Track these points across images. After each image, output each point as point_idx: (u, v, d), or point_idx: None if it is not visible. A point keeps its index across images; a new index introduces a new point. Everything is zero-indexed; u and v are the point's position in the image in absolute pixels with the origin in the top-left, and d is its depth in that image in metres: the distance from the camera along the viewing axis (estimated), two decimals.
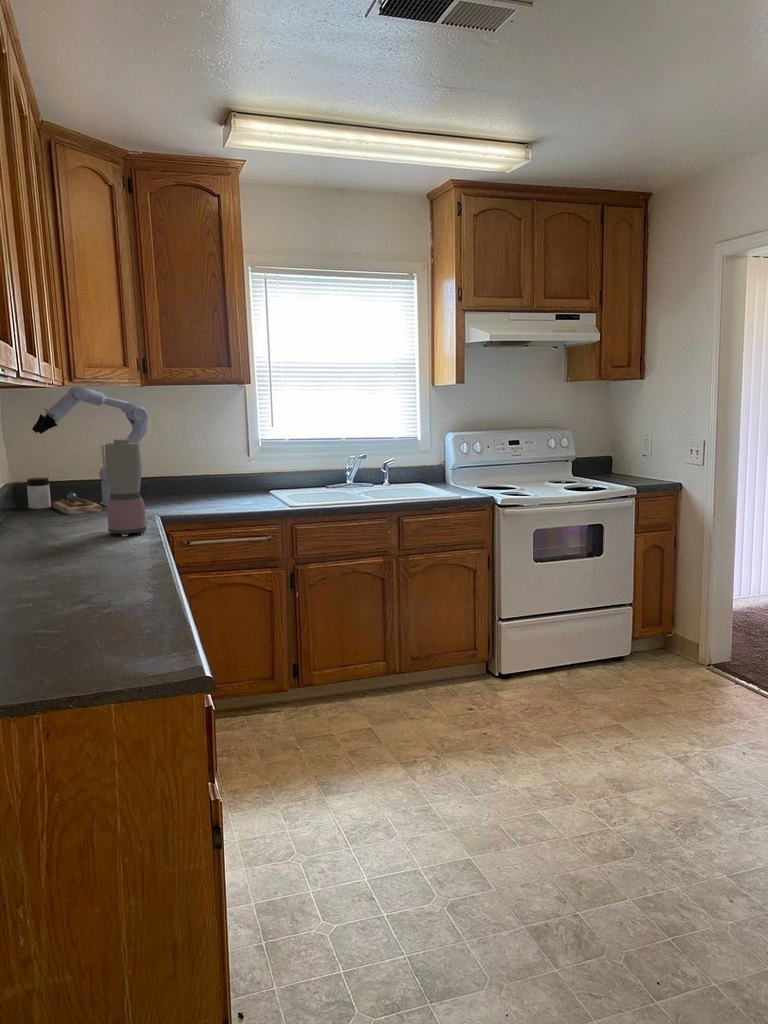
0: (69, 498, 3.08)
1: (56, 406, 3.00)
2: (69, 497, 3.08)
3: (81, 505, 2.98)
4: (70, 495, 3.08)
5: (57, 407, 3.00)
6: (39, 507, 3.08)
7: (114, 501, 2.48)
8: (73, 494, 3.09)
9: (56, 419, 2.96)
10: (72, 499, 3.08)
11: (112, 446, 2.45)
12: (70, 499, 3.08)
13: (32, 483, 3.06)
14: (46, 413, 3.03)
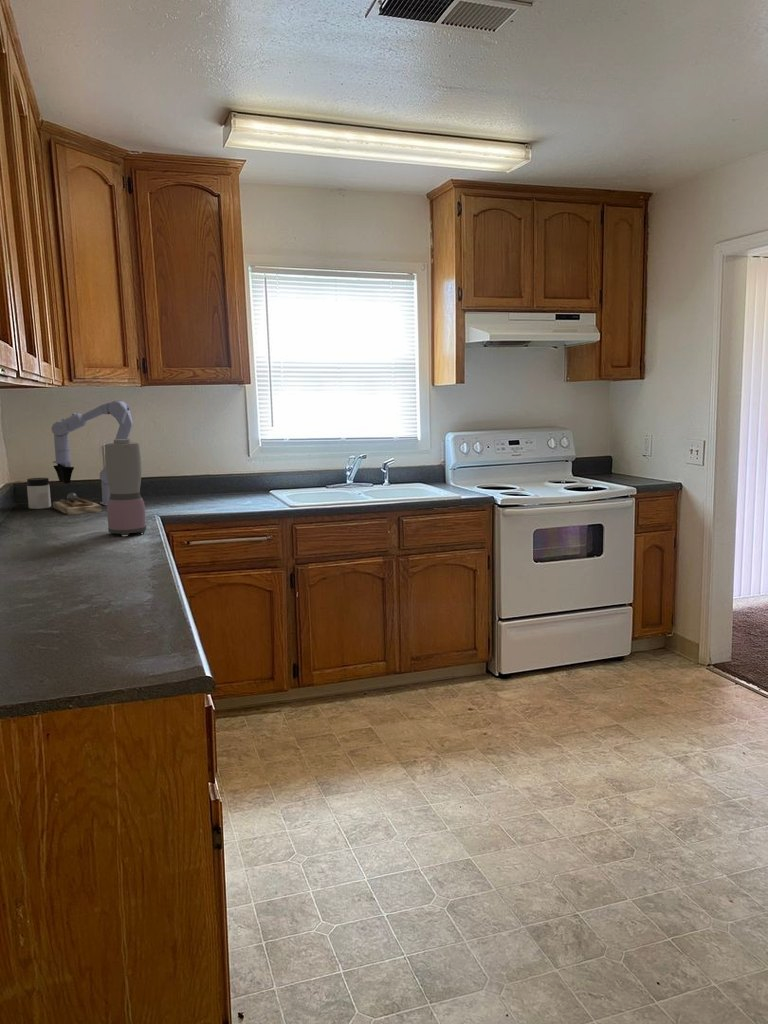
0: (69, 498, 3.08)
1: (58, 454, 3.12)
2: (69, 497, 3.08)
3: (81, 505, 2.98)
4: (70, 495, 3.08)
5: (59, 454, 3.12)
6: (39, 507, 3.08)
7: (114, 501, 2.48)
8: (73, 494, 3.09)
9: (69, 465, 3.10)
10: (72, 499, 3.08)
11: (112, 446, 2.45)
12: (70, 499, 3.08)
13: (32, 483, 3.06)
14: None
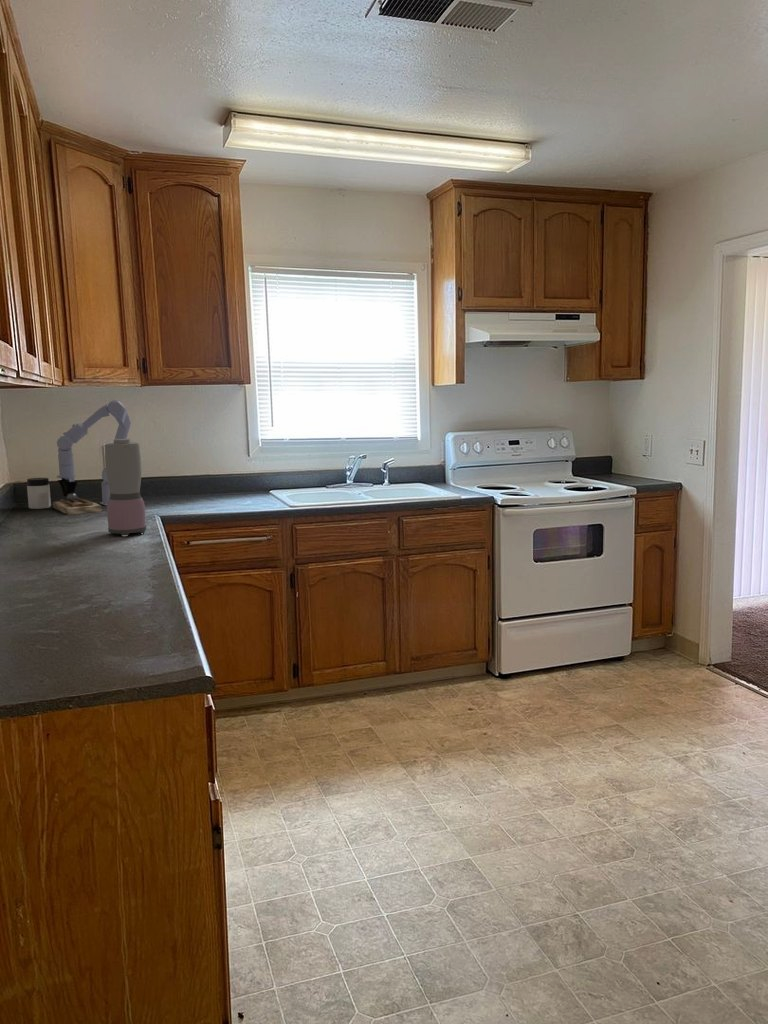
0: (69, 498, 3.08)
1: (62, 468, 3.09)
2: (69, 497, 3.08)
3: (81, 505, 2.98)
4: (70, 495, 3.08)
5: (63, 468, 3.09)
6: (39, 507, 3.08)
7: (114, 501, 2.48)
8: (73, 494, 3.08)
9: (73, 480, 3.07)
10: (72, 499, 3.08)
11: (112, 446, 2.45)
12: (70, 499, 3.08)
13: (32, 483, 3.06)
14: None
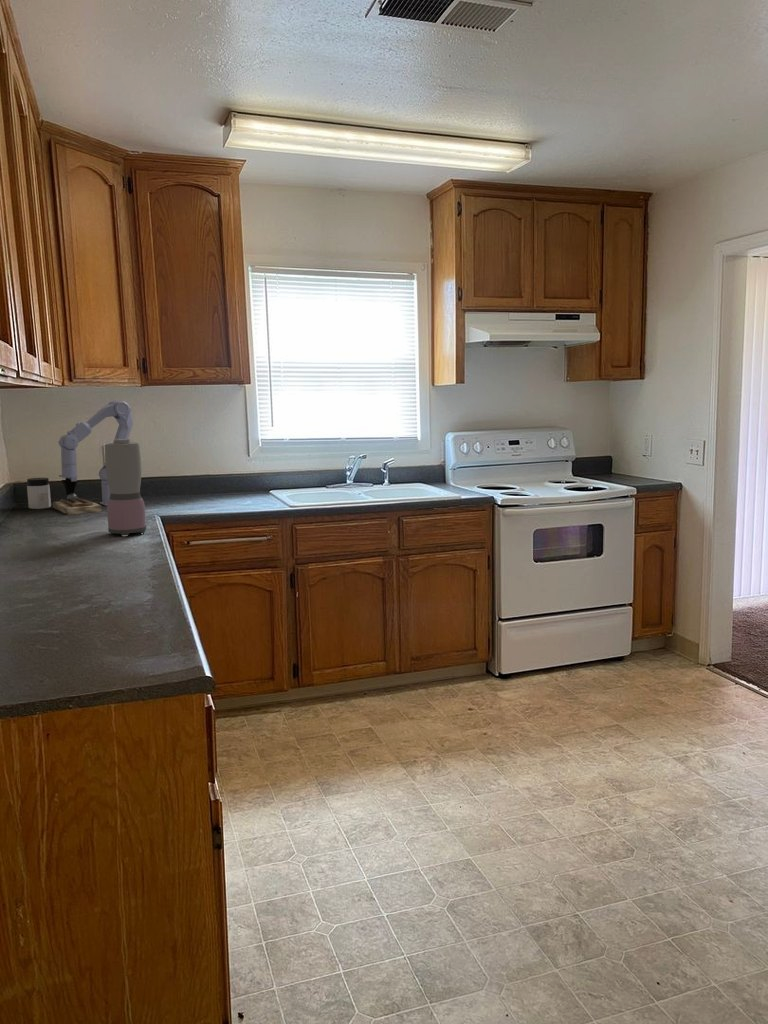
0: (69, 501, 3.07)
1: (65, 467, 3.05)
2: (69, 500, 3.07)
3: (81, 505, 2.98)
4: (70, 499, 3.07)
5: (66, 467, 3.05)
6: (39, 507, 3.08)
7: (114, 501, 2.48)
8: (73, 497, 3.07)
9: (75, 479, 3.03)
10: (72, 502, 3.08)
11: (112, 446, 2.45)
12: (70, 501, 3.08)
13: (32, 483, 3.06)
14: None
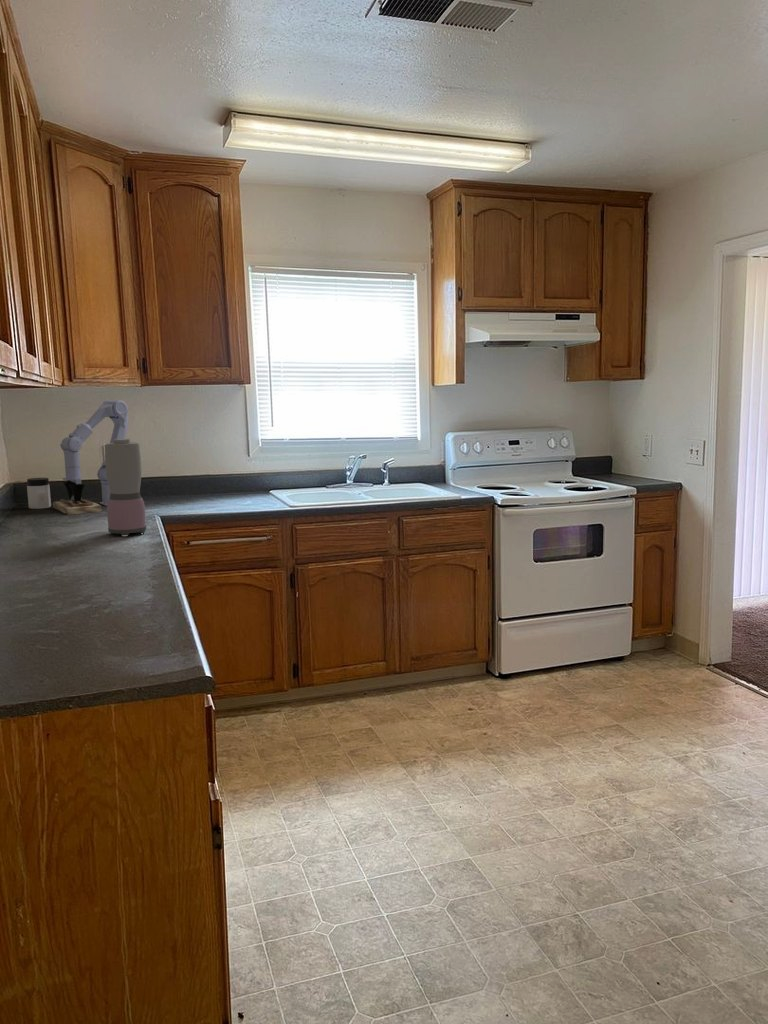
0: None
1: (68, 470, 3.02)
2: None
3: (81, 505, 2.98)
4: None
5: (70, 470, 3.02)
6: (39, 507, 3.08)
7: (114, 501, 2.48)
8: None
9: (79, 482, 3.00)
10: None
11: (112, 446, 2.45)
12: None
13: (32, 483, 3.06)
14: None
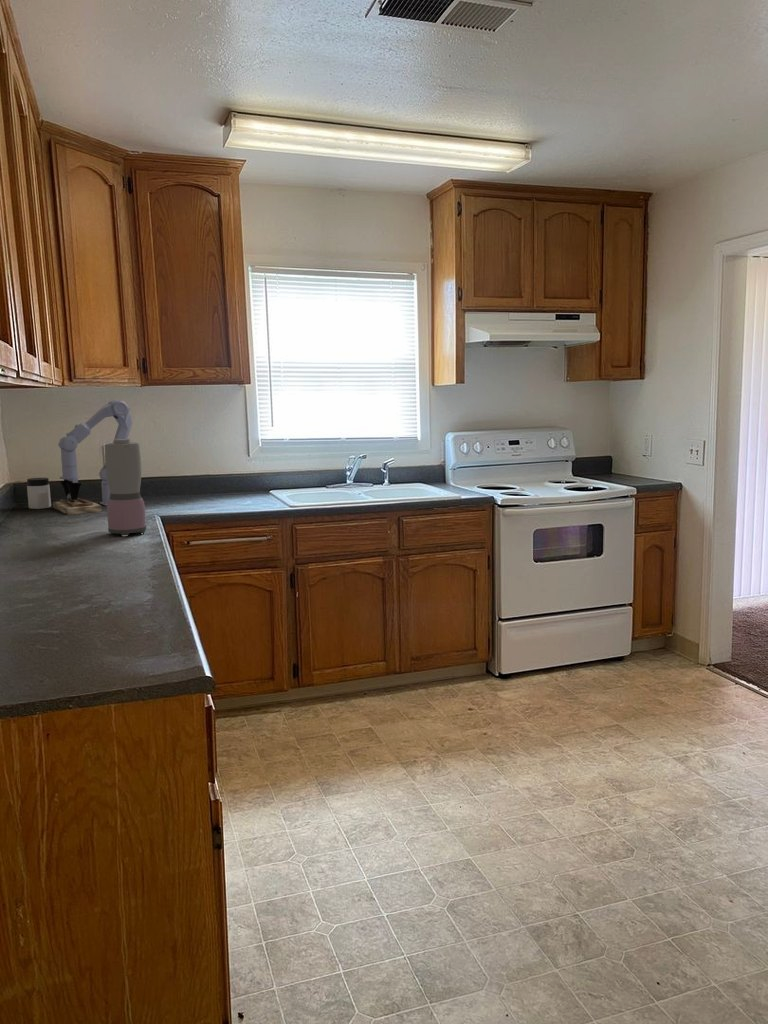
0: (69, 500, 3.09)
1: (65, 469, 3.06)
2: (69, 499, 3.09)
3: (81, 505, 2.98)
4: (69, 498, 3.08)
5: (66, 469, 3.06)
6: (39, 507, 3.08)
7: (114, 501, 2.48)
8: None
9: (76, 481, 3.04)
10: (72, 501, 3.09)
11: (112, 446, 2.45)
12: (70, 501, 3.09)
13: (32, 483, 3.06)
14: None
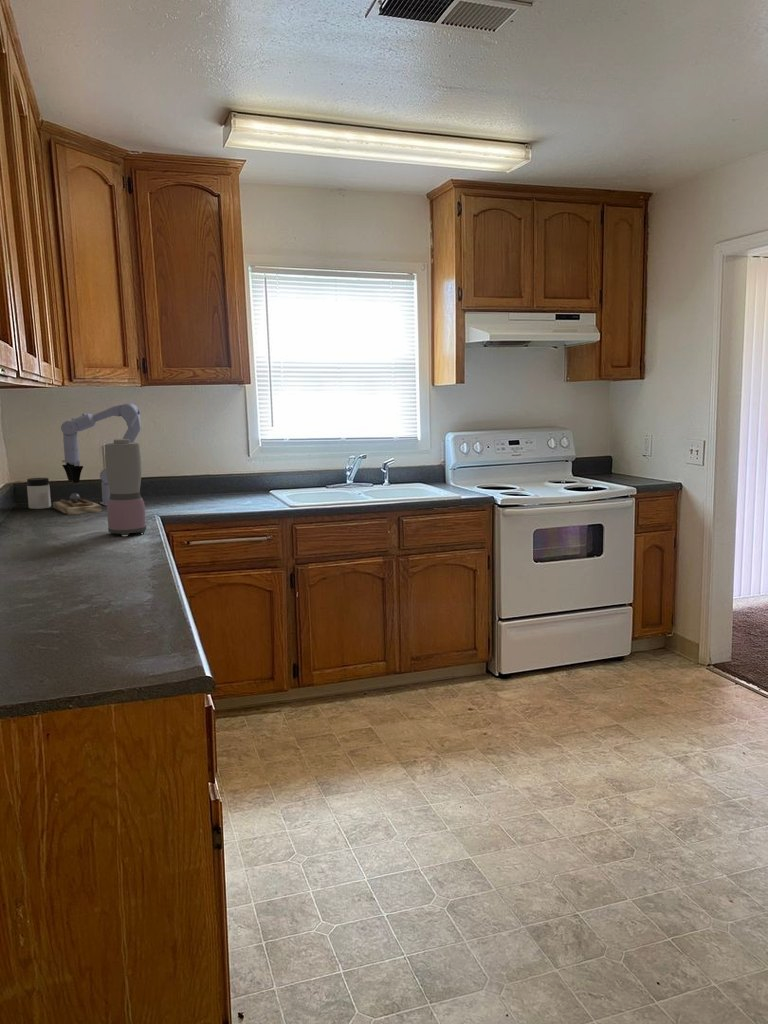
0: None
1: (67, 453, 3.12)
2: None
3: (81, 505, 2.98)
4: (72, 501, 3.07)
5: (68, 453, 3.12)
6: (39, 507, 3.08)
7: (114, 501, 2.48)
8: (75, 502, 3.08)
9: (78, 464, 3.10)
10: None
11: (112, 446, 2.45)
12: None
13: (32, 483, 3.06)
14: None
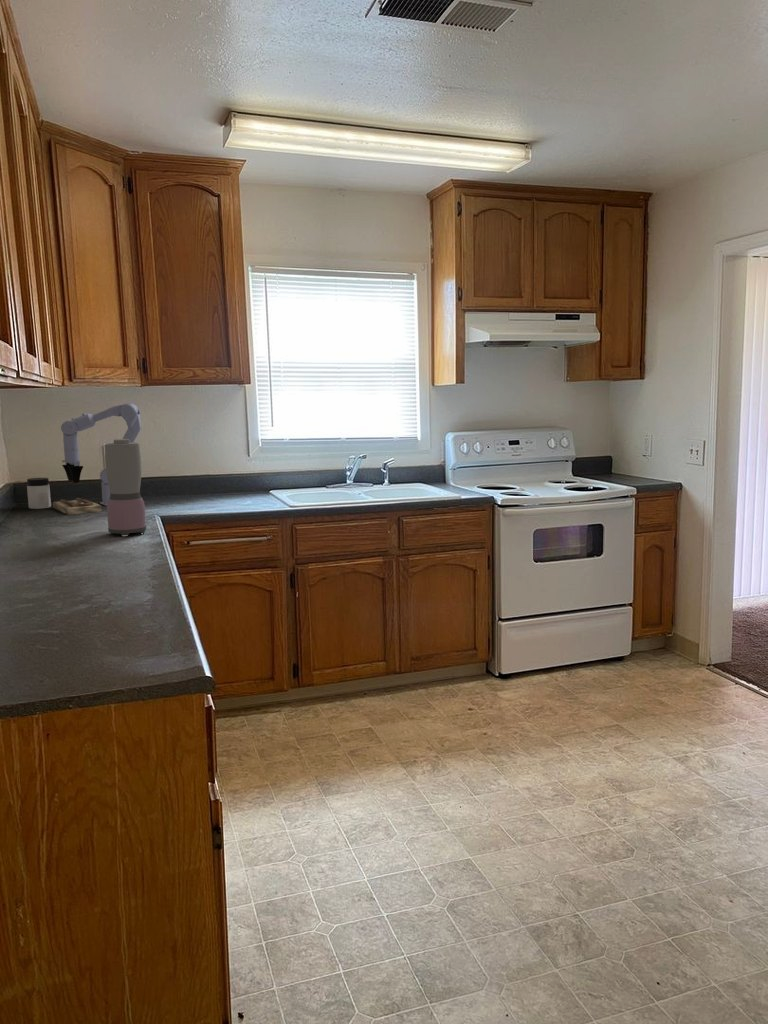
0: None
1: (67, 453, 3.12)
2: None
3: (81, 505, 2.98)
4: None
5: (68, 453, 3.12)
6: (39, 507, 3.08)
7: (114, 501, 2.48)
8: None
9: (78, 464, 3.10)
10: None
11: (112, 446, 2.45)
12: None
13: (32, 483, 3.06)
14: None
